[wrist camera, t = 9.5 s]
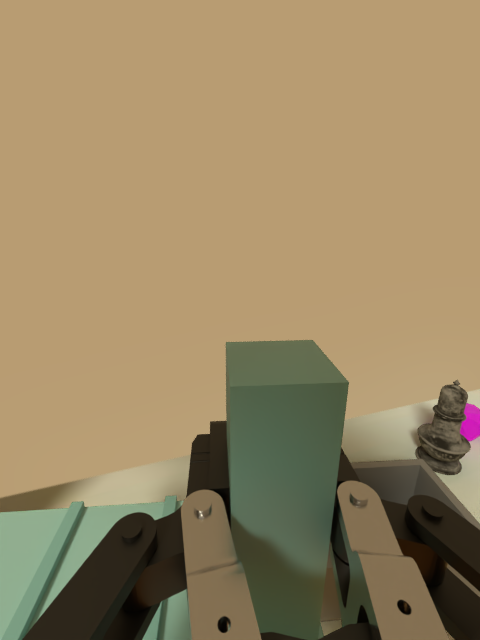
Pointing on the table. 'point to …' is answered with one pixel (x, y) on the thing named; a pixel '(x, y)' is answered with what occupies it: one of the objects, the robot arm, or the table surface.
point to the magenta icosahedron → (471, 422)
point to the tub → (396, 486)
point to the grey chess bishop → (445, 432)
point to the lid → (245, 501)
